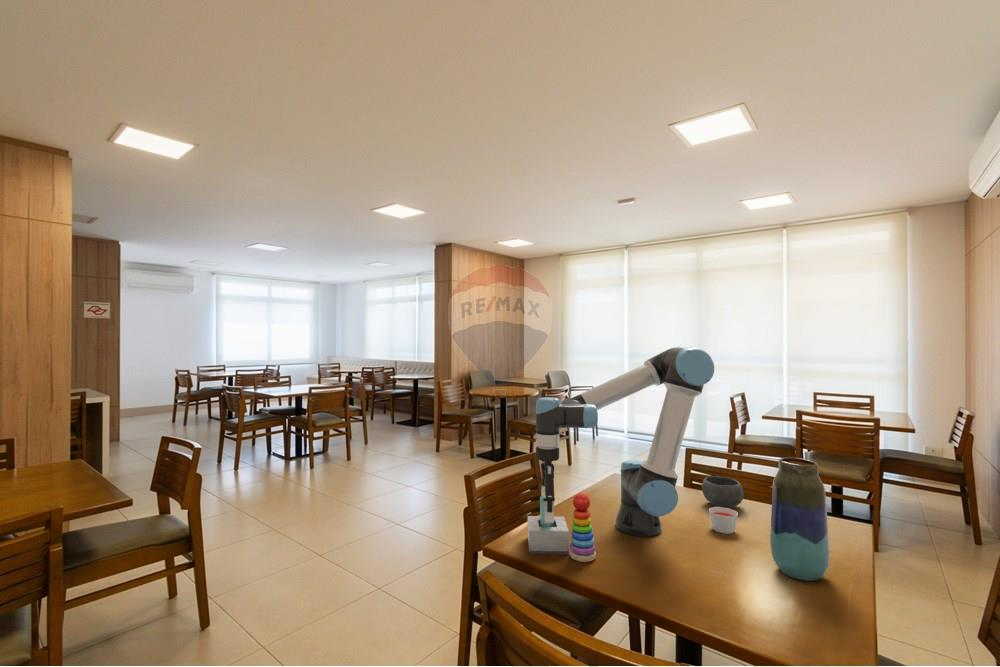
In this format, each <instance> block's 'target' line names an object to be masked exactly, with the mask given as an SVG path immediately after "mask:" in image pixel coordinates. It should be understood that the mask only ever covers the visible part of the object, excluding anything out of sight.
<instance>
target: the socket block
mask: <svg viewBox="0 0 1000 667" xmlns="http://www.w3.org/2000/svg"><path fill="white" fill-rule="evenodd" d="M569 532H570V530H569V528H568V524H567V521H566V518H565V516H562V515H561V516H558V515H557V516H555V515H554V523H553V527H541V525H540V515H539V516H538V515H536V516H535V515H527V543H528V544H527V545H528V554H529V555H565V556H566V555H569V556H570V554H569V551H570V533H569Z"/></svg>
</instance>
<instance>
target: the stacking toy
mask: <svg viewBox="0 0 1000 667" xmlns="http://www.w3.org/2000/svg"><path fill="white" fill-rule="evenodd" d="M590 501H591V500H590V498H589V496H588V495H587V494H585V493H581V492H580V493H577V494H575V495H574V497H573V499H572V504H573V507H574V508H575V509H574V510H573V512H572V514H573V518H572V524H571V528H572V530H571V537H570V543H569V556H570V558H571V559H572V560H574V561H577V562H581V563H589V562H592V561H594V560H595V559H596V557H597V552H596V545H595V538H594V531H593V530H592V529H593V526H592V524H591V523H592V519H591V517H590V516H591V512H590V510H589V508H590V506H591V502H590Z"/></svg>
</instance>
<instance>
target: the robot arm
mask: <svg viewBox="0 0 1000 667" xmlns="http://www.w3.org/2000/svg"><path fill="white" fill-rule="evenodd" d="M714 374H715V363H714V361H713V359H712V357H711V355H710V354H709V353H708V352H707V351H704V350H703V349H701V348H698V347H692V346H688V347H672V348H669V349H667V350H664V351H662V352H660V353H658V354H656V355H655V356H652V357H650V358H648V359H646V360H645V361H644V363H643V365H640V366H638V367H637V368H633V369H632V370H629V371H627V372H625V373H623V374H620V375H619V376H617V377H614V378H612V379H610V380H608V381H606V382H604V383H602V384H599V385H596V386H594V387H592V388H590V389H587V390H586V391H584V392H582V393H579V394H577V395H575V396H573V397H566V398H564V399H563V400H561V401H560V399H559V398H558V397H547V396H545V397H538V399H537V400H536V403H535V435H534V436H533V439H534V440H535V445H536V447H535V458H536V460H537V461H541V463H540V472H541V473H540V474H541V475H540V476H541V477H540V482H541V483H540V484H541V494H540V495H541V496H545V498H543V501H545V522H548V523H554V516H555V501H556V498H555V466H554V464H553V462H554V461H555V462H557V461H558V460H559V459H560V448H559V447H560V443H561V442H560V434H561V433H560V429H592V428H595V427H596V426H597V425H598V420H599V418H598V417H599V416H598V413H599V412H598V411H599V410H601V409H603V408H606V407H608V406H609V405H612V404H614V403H616V402H618V401H621V400H623V399H625V398H628V397H629V396H632V395H634V394H636V393H638V392H640V391H642V390H644V389H646V388H649V387H651V386H653V385H655V386H656V387H657V386H660V385H663V384H664V387H665V388H666V392H665V396H664V398H663V403H662V407H661V409H660V410H661V411H660V414H659V416H658V417H659V418H658V421H657V424H656V428H655V430H654V431H655V432H654V435H653V438H652V440H651V441H652V442H651V446H650V448H649V452H648V456H647V459H646V460H637V459H636V460H635V459H633V460H624V461H622V463H621V464H620V469H619V470H620V499H621V500H620V506H619V508H618V512H617V514H616V517H615V518H616V519H615V527H616V529H618V530H619V531H620V532H623V533H625V534H628V535H631V536H637V537H653V536H657V535H659V534H661V532H662V523H661V519H660V517H664V516H666V515H668V514H670V513H672V512H673V511H674V510H675V509H676V507H677V505H678V502H679V494H678V491H677V489H676V486H677V482H678V477H679V476H678V475H677V473H676V470H675V469H676V465H677V461H678V458H679V454H680V451H681V447H682V444H683V441H684V437H685V434H686V433H685V432H686V430H687V427H688V422H689V420H690V415H691V413H692V412H691V411H692V409H693V405H694V401H695V398H696V397H698V396H700V395H701V394H702V392H703V390H704V386H705V385H706V384H707V383H709V382H711V380H712V378H713V377H714ZM541 496H540V497H541ZM548 496H552V497H548Z"/></svg>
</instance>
